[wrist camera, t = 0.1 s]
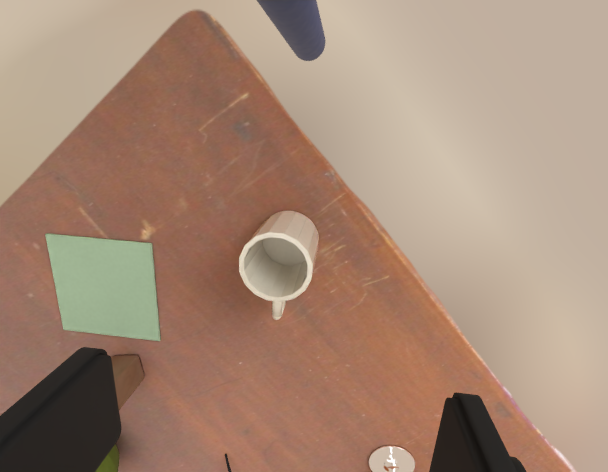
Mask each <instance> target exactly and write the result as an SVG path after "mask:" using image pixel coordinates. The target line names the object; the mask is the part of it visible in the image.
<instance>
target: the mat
mask: <svg viewBox="0 0 608 472" xmlns="http://www.w3.org/2000/svg"><path fill="white" fill-rule="evenodd" d="M45 235H46V240H47V246H48V251H49V256H50V262H51V267H52V272H53V277H54V283H55V288H56V293H57V298H58V304H59V309H60V314H61V319H62V325H63V330H70V331H78V332H87V333H95V334H104V335H112V336H121V337H129V338H137V339H146V340H154V341H160V340H161V338H160V327H159V316H158V304H157V293H156V282H155V271H154V260H153V248H152V243H146V242H135V241H124V240H113V239H102V238H92V237H81V236H70V235H59V234H48V233H47V234H45Z"/></svg>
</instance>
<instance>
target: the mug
mask: <svg viewBox="0 0 608 472" xmlns="http://www.w3.org/2000/svg"><path fill="white" fill-rule="evenodd" d="M318 245H319V236H318V232H317V229H316V227H315V226H314V224H313V223H312V221H311V220H310V219H309V218H307V217H306V216H304V215H303V214H301V213H298V212H295V211H281V212H278V213H275V214H273V215H272V216H270V217H269V218H268V219H267V220H266V221H265V222H264V223H263V224H262V225H261V226H260V227H259V229H258V230H257V231H256V232H255V234H254V235H253V236H252V237H251V238H250V240H249V241H248V242H247V243H246V244H245V246H244V248H243V250H242V252H241V255H240V257H239V272H240V274H241V277H242V279H243V282H244V284H245V285H246V286H247V287H248V288H249V289H250V290H251V291H252V292H253V293H254V294H255V295H257V296H259V297H261V298H263V299H265V300H268V301H272V317H273V319H275V320H278V319H280V318H281V316H282V313H283V310H284V307H285V304H286V301H287V300H290V299H294V298H296V297H297V296H299V295H300V294H301V293H302V292H304V291H305V290H306V288H307V287H308V285H309V283H310V281H311V279H312V275H313V271H314V266H315V261H316V257H317V252H318Z"/></svg>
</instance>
